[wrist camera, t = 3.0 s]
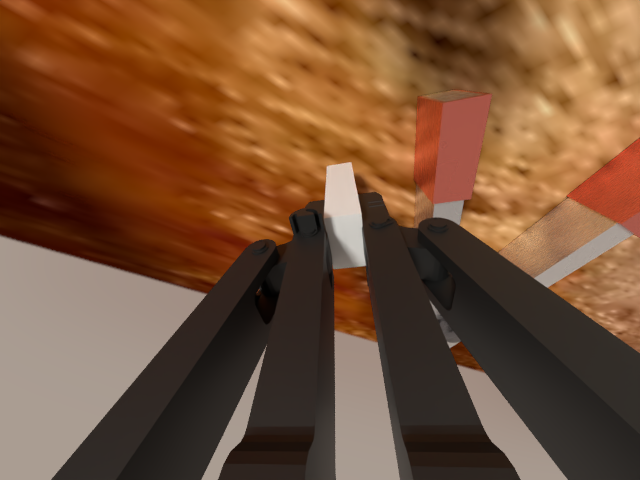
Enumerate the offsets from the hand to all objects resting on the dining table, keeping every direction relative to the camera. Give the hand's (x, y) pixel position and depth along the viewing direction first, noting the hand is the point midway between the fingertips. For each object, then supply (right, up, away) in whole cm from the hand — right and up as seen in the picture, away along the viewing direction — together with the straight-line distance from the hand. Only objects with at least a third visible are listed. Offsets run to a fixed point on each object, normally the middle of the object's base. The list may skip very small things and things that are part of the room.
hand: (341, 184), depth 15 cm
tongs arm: (+7, -2, +3) cm, 7 cm away
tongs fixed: (+13, -4, +4) cm, 14 cm away
